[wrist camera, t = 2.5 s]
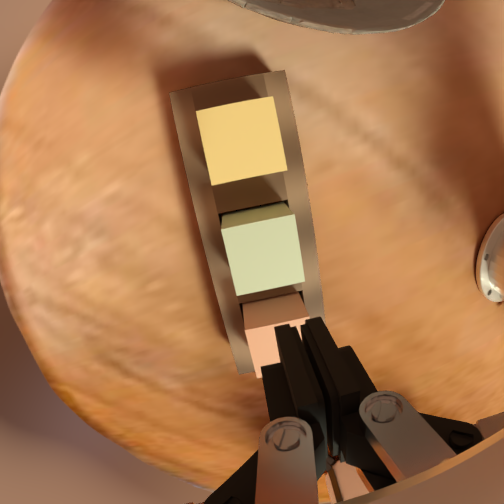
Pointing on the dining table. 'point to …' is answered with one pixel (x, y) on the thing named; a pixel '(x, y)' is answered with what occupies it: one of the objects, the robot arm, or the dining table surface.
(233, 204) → the wooden tray
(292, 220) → the pale green cube
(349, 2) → the ceramic bowl
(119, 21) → the dining table surface
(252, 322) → the salmon pink cube
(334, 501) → the coffee press
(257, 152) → the yellow cube
